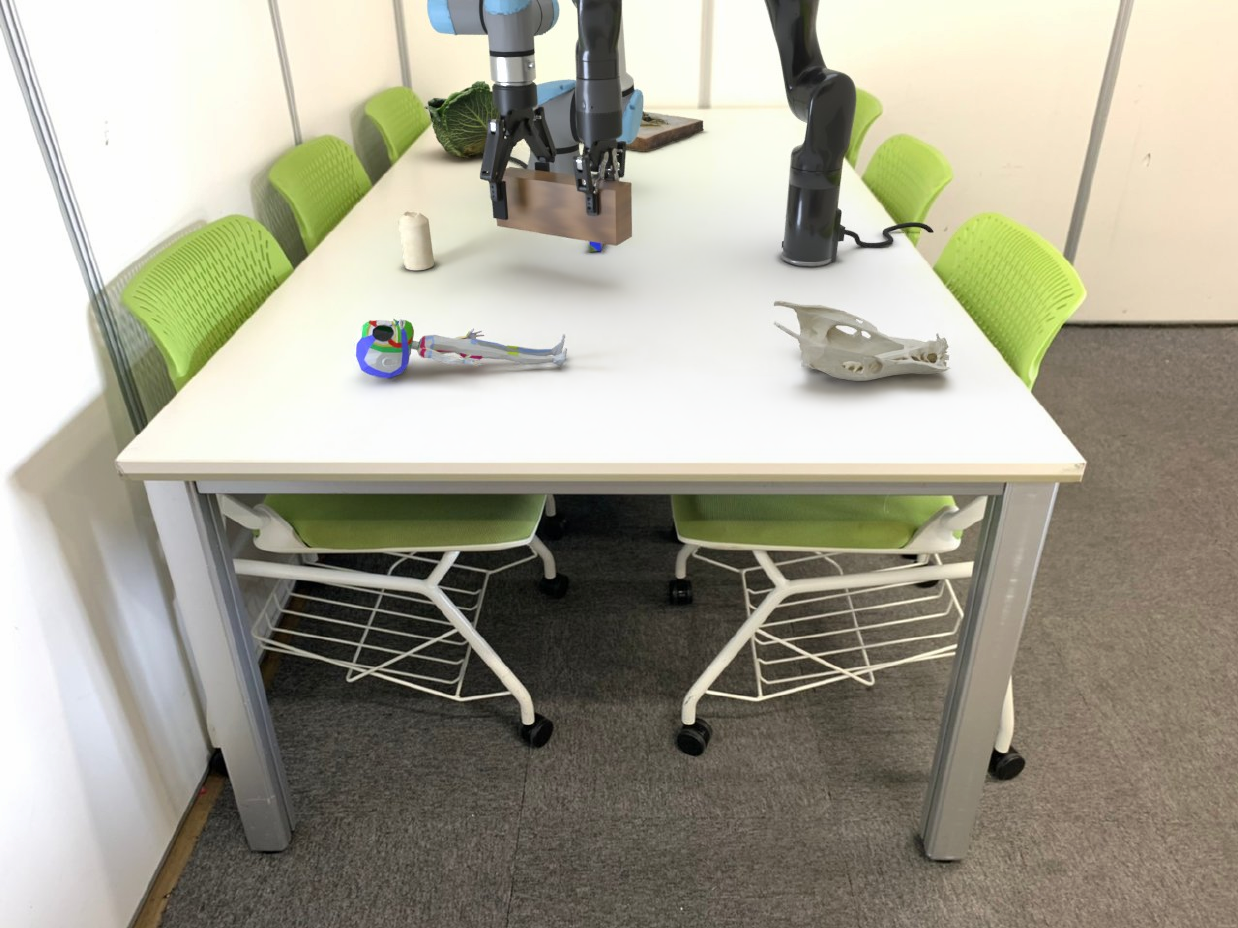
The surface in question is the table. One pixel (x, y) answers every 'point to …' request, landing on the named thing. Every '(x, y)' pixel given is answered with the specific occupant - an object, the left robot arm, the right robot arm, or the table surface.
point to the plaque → (663, 130)
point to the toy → (435, 349)
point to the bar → (566, 207)
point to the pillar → (595, 246)
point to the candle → (416, 241)
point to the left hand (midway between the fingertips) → (523, 208)
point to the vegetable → (463, 119)
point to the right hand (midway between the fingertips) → (602, 210)
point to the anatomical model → (860, 346)
